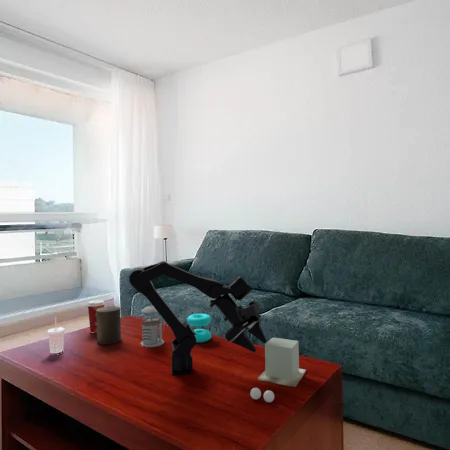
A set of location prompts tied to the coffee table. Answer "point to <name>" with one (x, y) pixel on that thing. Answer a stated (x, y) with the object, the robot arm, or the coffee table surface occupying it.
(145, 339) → the french press
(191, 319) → the donuts
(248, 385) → the coffee table surface
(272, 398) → the marble
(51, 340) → the beverage cup
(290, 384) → the birch coaster
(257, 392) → the marble
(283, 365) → the bulging sage box
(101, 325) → the pillar candle
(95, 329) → the paper cup
